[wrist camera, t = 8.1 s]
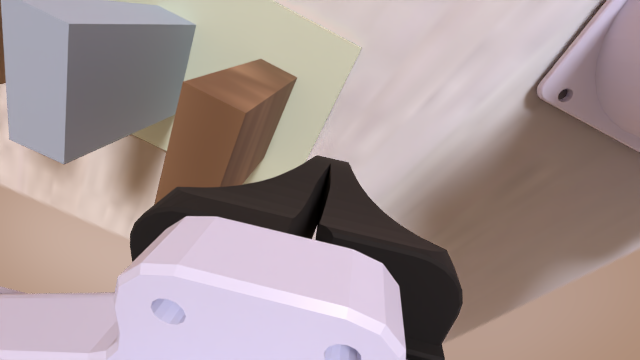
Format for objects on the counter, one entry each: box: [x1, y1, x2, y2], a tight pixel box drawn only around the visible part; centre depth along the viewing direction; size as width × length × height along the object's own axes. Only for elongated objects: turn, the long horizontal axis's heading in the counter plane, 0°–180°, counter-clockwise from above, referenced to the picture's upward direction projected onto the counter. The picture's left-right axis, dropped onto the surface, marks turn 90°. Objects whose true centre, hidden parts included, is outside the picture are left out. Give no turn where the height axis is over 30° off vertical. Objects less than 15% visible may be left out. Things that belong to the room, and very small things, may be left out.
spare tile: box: [1, 0, 196, 164], centre depth 12 cm, size 2×4×6 cm, turn 156°
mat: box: [108, 0, 362, 185], centre depth 14 cm, size 25×9×1 cm, turn 65°
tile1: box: [154, 59, 297, 205], centre depth 12 cm, size 2×4×6 cm, turn 155°
